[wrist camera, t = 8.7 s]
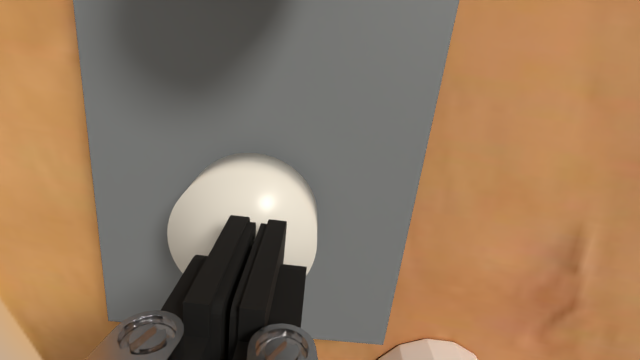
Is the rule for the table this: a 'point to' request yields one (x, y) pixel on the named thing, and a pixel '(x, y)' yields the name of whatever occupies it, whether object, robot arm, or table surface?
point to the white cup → (429, 351)
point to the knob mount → (263, 132)
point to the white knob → (244, 207)
